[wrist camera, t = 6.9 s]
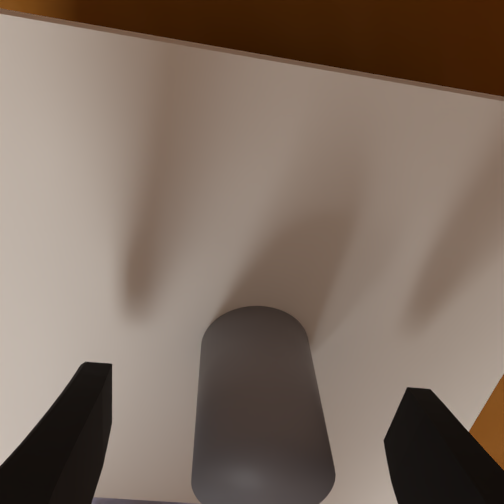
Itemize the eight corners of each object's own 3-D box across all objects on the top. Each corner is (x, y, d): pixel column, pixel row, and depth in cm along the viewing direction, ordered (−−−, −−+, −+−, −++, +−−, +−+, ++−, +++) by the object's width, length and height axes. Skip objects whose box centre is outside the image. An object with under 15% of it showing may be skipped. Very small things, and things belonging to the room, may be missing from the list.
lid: (412, 501, 19) (461, 646, 15) (6, 475, 17) (-63, 632, 13) (632, 119, 11) (853, 207, 7) (-66, -3, 9) (-283, 25, 5)
